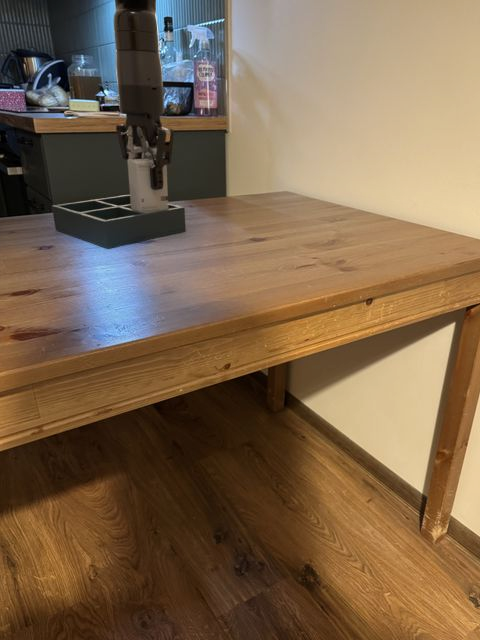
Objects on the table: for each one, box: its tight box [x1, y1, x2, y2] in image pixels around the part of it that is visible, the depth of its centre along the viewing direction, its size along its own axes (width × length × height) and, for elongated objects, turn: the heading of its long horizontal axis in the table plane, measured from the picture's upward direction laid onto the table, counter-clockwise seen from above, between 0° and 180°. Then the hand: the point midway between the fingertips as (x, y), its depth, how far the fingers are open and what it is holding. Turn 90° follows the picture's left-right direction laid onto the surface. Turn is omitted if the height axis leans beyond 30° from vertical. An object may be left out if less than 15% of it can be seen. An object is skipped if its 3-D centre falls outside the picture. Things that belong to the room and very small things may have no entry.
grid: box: [51, 194, 187, 249], centre depth 94 cm, size 17×17×5 cm
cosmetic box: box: [126, 158, 169, 213], centre depth 93 cm, size 6×4×12 cm
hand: (148, 186), depth 92 cm, fingers closed on cosmetic box, 4 cm apart
